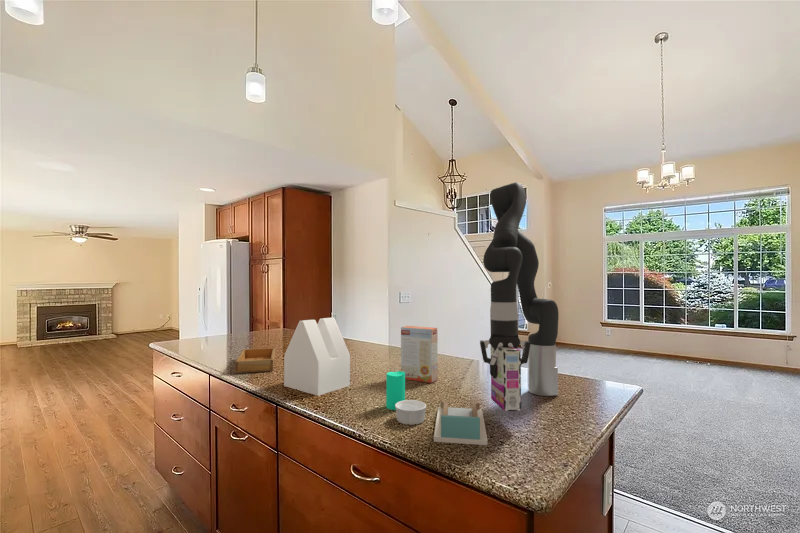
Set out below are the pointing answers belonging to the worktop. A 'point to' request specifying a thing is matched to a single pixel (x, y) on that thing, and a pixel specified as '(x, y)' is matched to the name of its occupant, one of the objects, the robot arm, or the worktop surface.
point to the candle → (395, 388)
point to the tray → (255, 360)
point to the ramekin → (410, 412)
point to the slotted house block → (317, 358)
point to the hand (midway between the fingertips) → (505, 377)
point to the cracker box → (419, 353)
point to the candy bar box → (507, 379)
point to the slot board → (460, 425)
